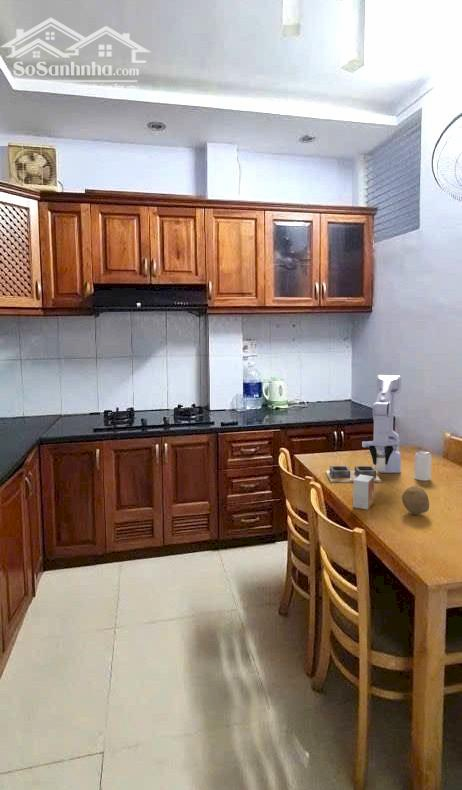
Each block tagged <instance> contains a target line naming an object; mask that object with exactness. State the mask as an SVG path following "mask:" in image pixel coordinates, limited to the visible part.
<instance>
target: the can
mask: <svg viewBox="0 0 462 790" xmlns="http://www.w3.org/2000/svg"><path fill="white" fill-rule="evenodd" d="M413 475H414V479H415V480H417V481H420V482H427V481H430V480H431V475H432V454H431V451H429V450H426V449H425V450H423V449H421V450H420V449H419V450H416V453H415V455H414V474H413Z"/></svg>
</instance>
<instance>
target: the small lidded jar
mask: <svg viewBox="0 0 462 790" xmlns="http://www.w3.org/2000/svg"><path fill="white" fill-rule="evenodd" d="M385 459H386V453H384V452H378V451H377V453H376V465H374V469H375V470H376V472H379V471H385Z"/></svg>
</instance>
